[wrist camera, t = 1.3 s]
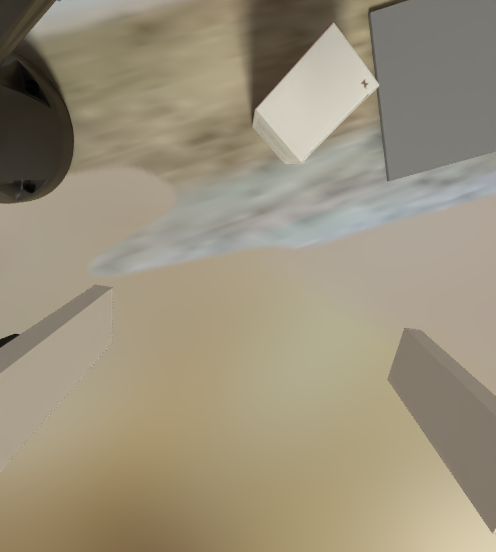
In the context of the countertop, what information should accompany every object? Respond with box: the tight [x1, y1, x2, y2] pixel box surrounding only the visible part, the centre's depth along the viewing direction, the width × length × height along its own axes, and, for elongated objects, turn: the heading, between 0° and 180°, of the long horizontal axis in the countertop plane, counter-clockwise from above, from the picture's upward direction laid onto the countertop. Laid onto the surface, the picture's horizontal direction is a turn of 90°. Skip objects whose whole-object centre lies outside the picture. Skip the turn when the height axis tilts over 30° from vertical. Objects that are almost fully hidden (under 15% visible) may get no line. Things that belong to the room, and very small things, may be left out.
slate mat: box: [368, 0, 496, 181], centre depth 31 cm, size 18×16×1 cm
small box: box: [252, 22, 379, 164], centre depth 27 cm, size 8×6×10 cm
